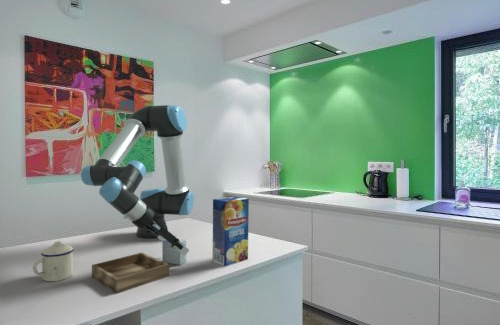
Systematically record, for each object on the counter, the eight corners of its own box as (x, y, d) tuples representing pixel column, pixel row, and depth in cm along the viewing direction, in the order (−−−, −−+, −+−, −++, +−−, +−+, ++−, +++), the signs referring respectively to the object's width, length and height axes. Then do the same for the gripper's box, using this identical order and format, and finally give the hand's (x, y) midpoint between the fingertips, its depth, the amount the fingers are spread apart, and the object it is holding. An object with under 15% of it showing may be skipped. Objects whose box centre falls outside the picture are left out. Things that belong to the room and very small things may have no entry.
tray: (91, 276, 105) (91, 264, 105) (141, 263, 118) (141, 252, 118) (116, 293, 93) (116, 279, 93) (169, 276, 106) (169, 264, 106)
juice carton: (224, 266, 116) (225, 201, 115) (212, 261, 121) (212, 199, 120) (248, 259, 124) (248, 198, 123) (235, 254, 130) (236, 196, 129)
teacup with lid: (63, 269, 111) (63, 236, 111) (79, 275, 107) (79, 240, 106) (25, 281, 101) (25, 245, 100) (41, 288, 96) (40, 250, 96)
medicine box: (186, 261, 121) (186, 239, 120) (180, 265, 116) (180, 242, 116) (168, 259, 123) (168, 237, 123) (162, 262, 119) (162, 240, 119)
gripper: (120, 216, 119) (159, 248, 129) (144, 229, 99) (187, 266, 109) (135, 201, 122) (171, 233, 132) (160, 210, 103) (200, 248, 112)
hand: (178, 248), depth 121 cm, fingers open, 13 cm apart
